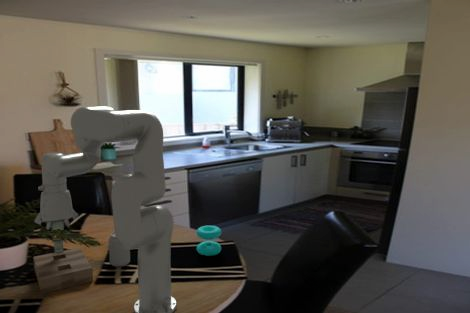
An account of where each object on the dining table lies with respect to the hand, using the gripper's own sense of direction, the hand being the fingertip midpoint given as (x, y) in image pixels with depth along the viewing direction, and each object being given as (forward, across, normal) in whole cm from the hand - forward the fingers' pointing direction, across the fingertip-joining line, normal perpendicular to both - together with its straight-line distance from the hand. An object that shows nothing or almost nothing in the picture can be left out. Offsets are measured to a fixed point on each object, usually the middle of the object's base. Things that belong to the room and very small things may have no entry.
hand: (58, 236), depth 139 cm
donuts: (+13, +54, -14) cm, 57 cm away
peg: (+6, 0, 0) cm, 6 cm away
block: (+13, 0, -5) cm, 14 cm away
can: (+13, +20, -6) cm, 25 cm away
